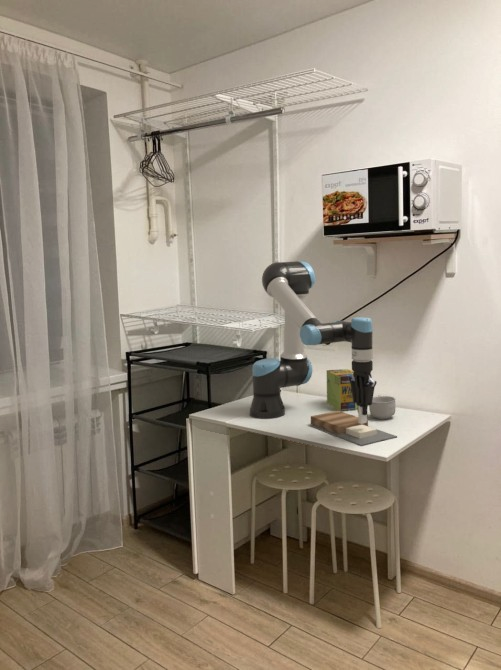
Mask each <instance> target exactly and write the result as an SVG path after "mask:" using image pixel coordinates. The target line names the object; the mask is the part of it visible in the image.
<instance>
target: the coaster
mask: <svg viewBox="0 0 501 670" xmlns="http://www.w3.org/2000/svg"><path fill="white" fill-rule="evenodd" d="M368 426H369V425H368ZM368 426H365V425H358V426H353V427H349V428H346V434H349V435H352V436H354V437H357V438H360V439H361V438H365V437H369V436H373V435H377V430H378V429H377V428H375V429H374V427H372V428H371V426H369V427H368Z"/></svg>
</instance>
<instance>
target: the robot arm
mask: <svg viewBox="0 0 501 670" xmlns="http://www.w3.org/2000/svg"><path fill="white" fill-rule="evenodd" d="M261 276H262V277H261V283H262V286H263V290H264V291H265V292H266V294H267V295H268V296H269V297H271V298H274V300H275V301H276V302H277V303H278V304H279V306H281V308H282V309H283V311H284V324H283V325H284V326H283V328H284V331H283V335H284V336H283V338H284V339H283V341H284V342H283V352H282V353H281V354H280V355H279V357H280V359H279V358H277V357H270V358H263V359H260V360H256V361H255V362H254V363H253V365H252V371H251V372H252V373H251V374H252V389H253V390H252V394H253V395H252V396H253V398H252V400H251V405H250V407H249V415H250V416H251V417H253V418H257V419H274V418H279V417H283V416H284V415H285V414H286V407H285V405H284V402H283V399H282V397H281V389H282V388H290V387H294V386H295V387H297V386H298V387H299V386H302V385H305V384H307V383H308V382H309V381H311V378H312V375H313V365H312V362H311V360H310V359H309V358H308V355H307V354H306V353H305V352H304V351H305V350H304V349H305V345H306V346H318V345H323V344H335V343H342V342H347V343H351V360H352V361H351V371H354V372H353V376H350V377H349V381H350V384H351V390H352V396H353V402H354V403H357V405H358V410H357V414H358V415H357V417H358V423H360V424H363V423H367V420H368V418H367V417H368V408H369V405H372V400H373V397H374V393H375V388H376V385H377V383H378V382H377V380H373V378H372V377H373V376H372V373H371V372H372V371H373V361H372V360H373V358H374V356H373V331H374V329H373V321H372V318H370V317H359V316H358V317H353V318H351V321H346V320H334V321H332V322H326V323H325V322H323V323H322V322H320V320H319V319H318V318H317V317H316V316H315V314H314V313H313V312H312V311H311V310H310V309H309V307H308V306H307V305H306V297H307V296H308V295H309V294H310V290H311V288H313V286H314V285H315V281H316V275H315V271H314V269H313V267H312V265H311V264H309V263H308V262H306V261H297V260H296V261H285V262H283V261H280V262H279V261H277V262H273V263H271V264H269V265H268V266H267V267H266V268H265V269H264V270H263V273H262V275H261Z"/></svg>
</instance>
